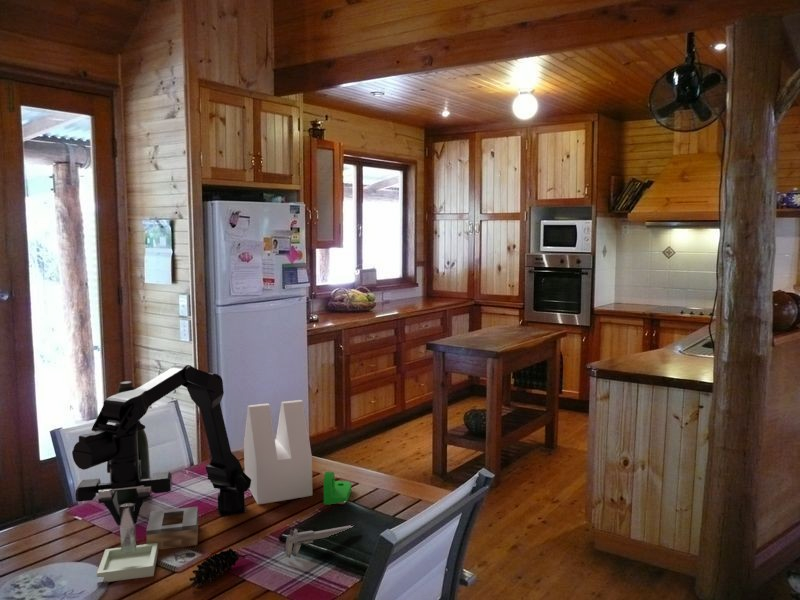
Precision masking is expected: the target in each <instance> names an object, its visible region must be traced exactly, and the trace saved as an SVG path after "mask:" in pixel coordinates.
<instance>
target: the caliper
mask: <svg viewBox="0 0 800 600" xmlns="http://www.w3.org/2000/svg"><path fill="white" fill-rule="evenodd" d="M351 525H352V524H351ZM351 525H345V526H340V527H333V528H329V529H323V530H318V531H313V530H306V531H300V532H298V531H299V530H298V529H296V528H294V530H292V529H290V531H289V534H287V535H286V540H285V557H288V558H289V559H291V557H292V556H293V557H297V556H298V554H299V551H300V549H301V546H302V544H304V545H309V544H311V545H312V544H314V540H320V539H325V538H330V537H329V536H331V535H334V534H337V533H339V532H342V531H345V530H347V529H349V528H352V527H353V526H354V525H353V526H351ZM331 537H332V536H331Z"/></svg>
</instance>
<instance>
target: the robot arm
mask: <svg viewBox="0 0 800 600" xmlns="http://www.w3.org/2000/svg"><path fill="white" fill-rule="evenodd" d="M223 381H224V380H223V378H222V376H221V375H220V374H217V373H212V372H207V371H204V370H202V369H197V368H196V367H194V366H192V364H181V363H177V364H173V365H172V366H171V367H170V368H169V369H167V370H166V371H164V372H162V373H161V374H159V375H157V376H155V377H154V378H152V379H149V381H147V382H146V383H144V384H142V385H140V386H138V387H137V388H135V389H134V390H131V391H126V392H121V393H118V392H117V393H116V394H113V395H110V396H109V397H107V398H106V399H105V400H104V402H103V405H102V407H101V409H100V411H99V414H98V415H97V417H96V419H95V421H94V424H93V425H92V427H91V431H92V432H90V433H84V434H80V435H79V436H78V442H76V443H75V444H74V446H73V449H72V451H71V454H72V455H71V456H72V460H73V462H74V464H75V465H76V467H78V468H79V469H81V470H88V469H91V468H93V467H96V466H99V465H102V464H104V463H106V472H107V474H109V478H110V477H111V483H110V482H105V483H104V482H103V483H101V482H102V481H101V478H98V477H97V478H91V479H90V478H89V479H88V478H87V479H83V480H81V481H80V482H79V484H78V486H77V487H76V490H75V502H81V503H82V502H88V501H89V502H90V501H93V500H94V498H95V497H96V496H97V494H98V501H97V502H98V504H103V505H104V506H105V508H106V509H107V510H108V511H109V513H110V514H111V517H112V518H113V520H114V522H115V523H116V525H117V527H120V516H119V506H120V505H119V504H118V500H117V491H122V490H132V489H137V493H136V496H135V504H134V524H135V525H136V524H137V522H138V518H139V515H140V511H141V508H142V506H143V504H144V502H145V500H144V499H145V498H147V499H149V498H150V497H151V495H152V493H154V494H164V493H169V492H171V490H172V486H173V474H172V473H171V472H170V471H162V472H161V471H160V472H159V471H158V472H152V475H151V478H150V479H140V480H139V477H141V460H139V459H138V439H137V431H140V430H143V429H144V430H145V429H146V425H144V424H143V423H142V422H141V419H142V418H143V417H144V416H145V415H146V414H147V412H148V410H149V407H151V406H152V405H153V404H155V403H156V402H158V401H160V400H161V399H162V398H164V397H166V396H167V395H169V394H170V393H172V392H173V391H175V390H176V389H178V388H180V387H181V386H182V387H184V388H186V390H187V392H188V394H189V397H190V399H191V400H192V401H193V403H195V405H196V406H197V407H198V408H199V411H200V415H201V418H202V424H203V426H204V427H203V428H204V431H205V434H206V438H207V443H208V446H209V451H210V455H211V459H210V462H209V464H207V465H206V466H205V471H206V474H207V481H208V480H209V481H210V482H211V484H212V487H213V488H214V489H217V490H219V492H218V493H217V512H219V517H225V516H234V515H243V514H246V503H245V502H246V501H245V497H246V496H245V492H247V491H248V490H249V488H250V485H251V479H250V478H249V477H248V476H247V475H246V474H245V471H244V469H243V466H242V464H241V461H240V460H239V459H238V458H237V457H236V455H235V454H234V453H233V451H232V449H231V446H230V441H229V436H228V433H227V428H226V424H225V420H224V415H223V410H222V406H221V401H222V399H223V396H224V394H225V393H224V392H225V391H224V382H223ZM138 420H140V422H141V423H140V422H139V421H138ZM109 423H110V424H109ZM115 424H120V425H119V426H116V425H115Z"/></svg>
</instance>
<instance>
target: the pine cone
mask: <svg viewBox="0 0 800 600" xmlns="http://www.w3.org/2000/svg"><path fill="white" fill-rule="evenodd" d="M251 555H252V553H247V554H244V555H243V554H240V553H239V552H238V551H236V550H233V549H232V548H231V547H230V548H228V549H227V550H221V551H220V552H219V553H214V554H212V555H211V556H210V557H206V558H205V560H203V561H202V562H201V563H200V564H197V565H196V567H197V568H198V569H194V570H192V574H194V575H195V576H194V577H189V579H188V580H189V582H192V583H191V584H190V585H189V587H192V589H194V588H195V587H196V586H198V587H200V586H202V587H204V586H205V584H207V583H209V584H210V583H212V582H215V581H216V579H217V575H219V576H223V575H224V572H225V570H228V571H231V570H232V567H233V566H234V567H236V563H237V562H238V560H240V558H244V559H245V558H246V557H248V556H251Z"/></svg>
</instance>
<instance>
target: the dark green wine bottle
mask: <svg viewBox="0 0 800 600" xmlns="http://www.w3.org/2000/svg"><path fill="white" fill-rule="evenodd" d="M134 389H136V388H135V386H134V384H133V381H131V380H128V381H127V380H126V381H125V380H124V381H121V382H119V386H118V388H117V394H118V393H121V392H126V391H131V390H134ZM138 421H139V422H140V423H141V424H142V422H141V419H140V420H138ZM114 425H116V426H119V425H120V424H116V423H114ZM137 439H138V459H139V460H141V477H139V480H140V479H150V478H152V475H151V463H150V462H151V461H150V449H149V440H148V436H147V433H146V431H145V429H143V430H140V431H137ZM109 483H111V477H110V476H109ZM136 493H137V489H132V490H122V491H117V500H118V505H119V506H120V505H122V504H126V503H132V504H134V505H135V496H136ZM146 500H148V498H145V499H144V501H146Z"/></svg>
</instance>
